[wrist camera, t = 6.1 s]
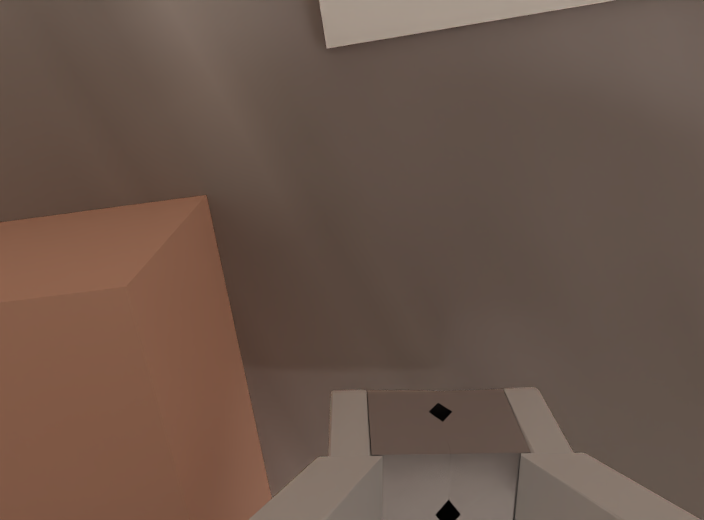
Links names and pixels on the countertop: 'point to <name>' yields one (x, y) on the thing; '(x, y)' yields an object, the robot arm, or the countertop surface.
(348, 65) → the countertop surface
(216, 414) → the terracotta block
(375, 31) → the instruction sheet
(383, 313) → the countertop surface
